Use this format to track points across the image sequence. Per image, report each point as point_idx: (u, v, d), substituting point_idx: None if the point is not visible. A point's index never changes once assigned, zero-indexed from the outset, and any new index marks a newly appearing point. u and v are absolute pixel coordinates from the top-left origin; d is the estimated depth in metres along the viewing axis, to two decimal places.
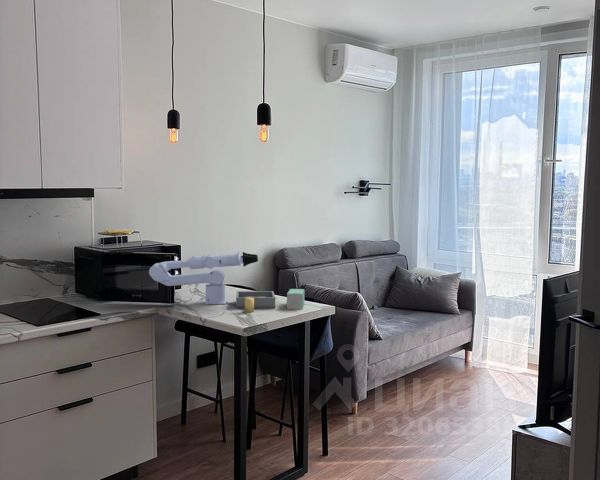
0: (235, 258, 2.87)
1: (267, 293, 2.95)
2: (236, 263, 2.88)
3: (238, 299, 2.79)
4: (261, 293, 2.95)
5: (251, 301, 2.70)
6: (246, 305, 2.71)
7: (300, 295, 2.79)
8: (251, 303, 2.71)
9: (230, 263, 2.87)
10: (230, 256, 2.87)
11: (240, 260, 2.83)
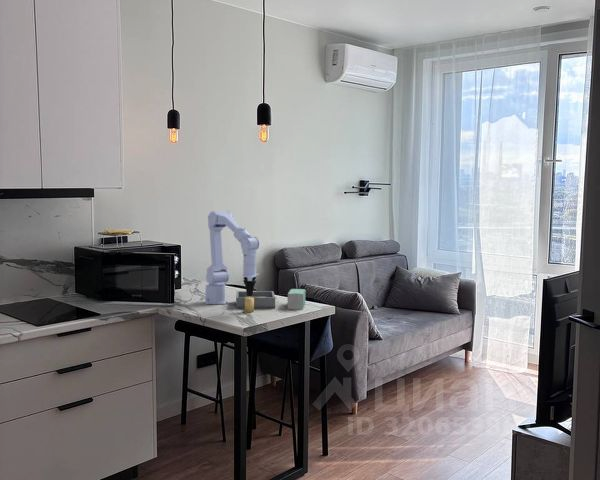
0: (252, 271, 2.68)
1: (267, 293, 2.95)
2: (246, 272, 2.68)
3: (238, 299, 2.79)
4: (261, 293, 2.95)
5: (251, 301, 2.70)
6: (246, 305, 2.71)
7: (301, 295, 2.79)
8: (251, 303, 2.71)
9: (247, 266, 2.68)
10: (254, 266, 2.69)
11: (251, 278, 2.64)
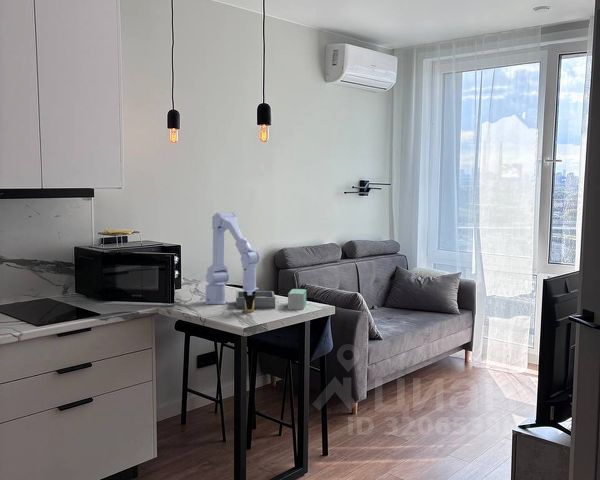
0: (251, 286, 2.69)
1: (267, 293, 2.95)
2: (246, 286, 2.69)
3: (238, 299, 2.79)
4: (261, 293, 2.95)
5: None
6: None
7: (301, 295, 2.79)
8: None
9: (247, 280, 2.69)
10: (254, 280, 2.69)
11: (250, 293, 2.65)
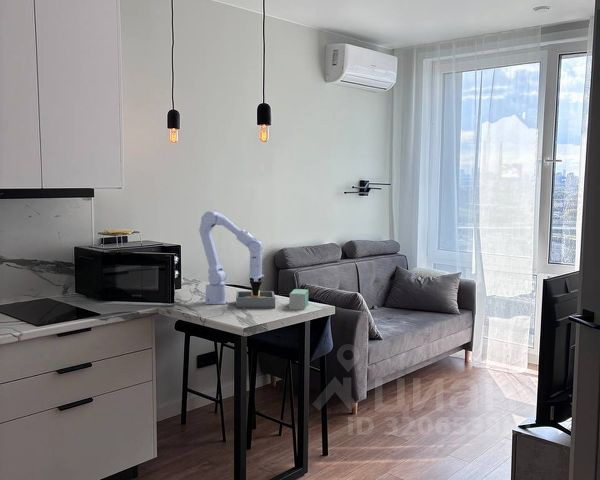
0: (257, 273, 2.84)
1: (267, 293, 2.95)
2: (252, 273, 2.84)
3: (238, 299, 2.79)
4: (261, 293, 2.95)
5: None
6: (252, 296, 2.86)
7: (302, 295, 2.79)
8: None
9: (253, 267, 2.83)
10: (260, 268, 2.84)
11: (257, 279, 2.79)
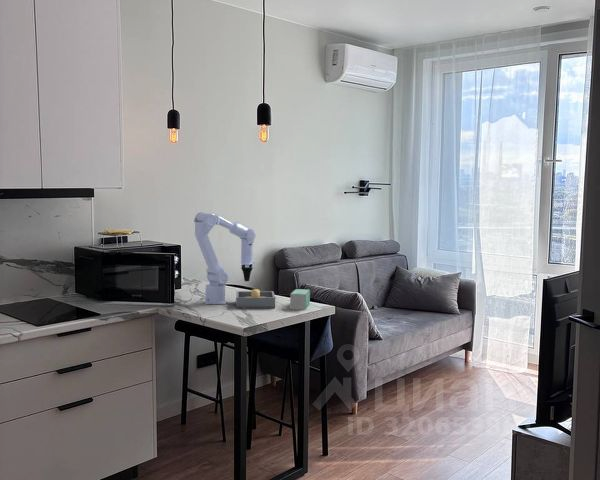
0: (249, 259, 2.98)
1: (267, 293, 2.95)
2: (244, 260, 2.98)
3: (238, 299, 2.79)
4: (261, 293, 2.95)
5: (257, 292, 2.86)
6: (252, 296, 2.86)
7: (303, 295, 2.78)
8: (257, 294, 2.86)
9: (244, 254, 2.97)
10: (251, 254, 2.98)
11: (248, 265, 2.93)
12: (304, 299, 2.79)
